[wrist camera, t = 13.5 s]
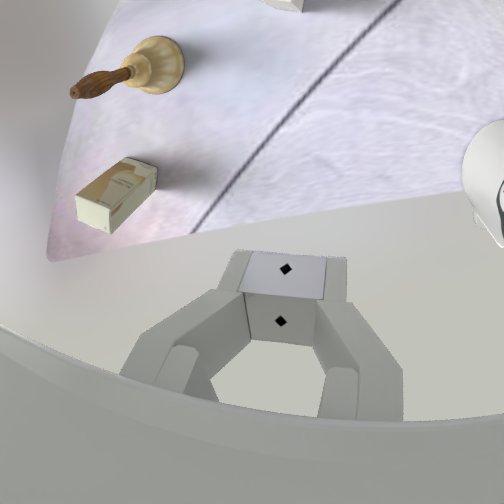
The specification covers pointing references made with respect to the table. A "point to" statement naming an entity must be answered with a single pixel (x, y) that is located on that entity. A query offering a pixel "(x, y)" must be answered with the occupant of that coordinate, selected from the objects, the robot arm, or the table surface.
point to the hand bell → (138, 70)
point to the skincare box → (115, 194)
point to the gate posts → (286, 4)
